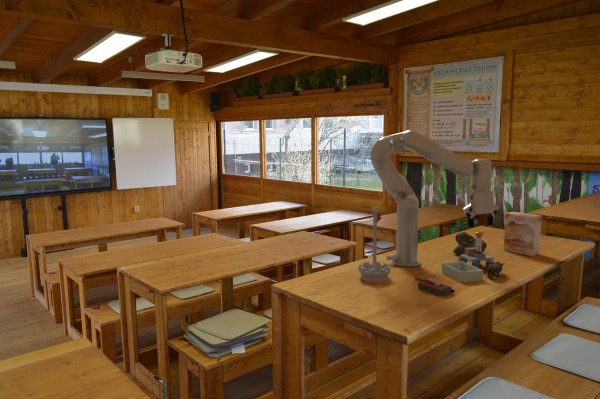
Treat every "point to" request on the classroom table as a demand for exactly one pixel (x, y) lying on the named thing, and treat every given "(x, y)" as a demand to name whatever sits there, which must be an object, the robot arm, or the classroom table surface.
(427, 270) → the classroom table surface
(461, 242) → the decorative stone
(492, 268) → the rhino figurine
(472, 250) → the trolley
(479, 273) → the tray
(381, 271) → the flag stand
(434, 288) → the walkie-talkie
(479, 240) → the pin
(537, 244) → the coffeecake box
